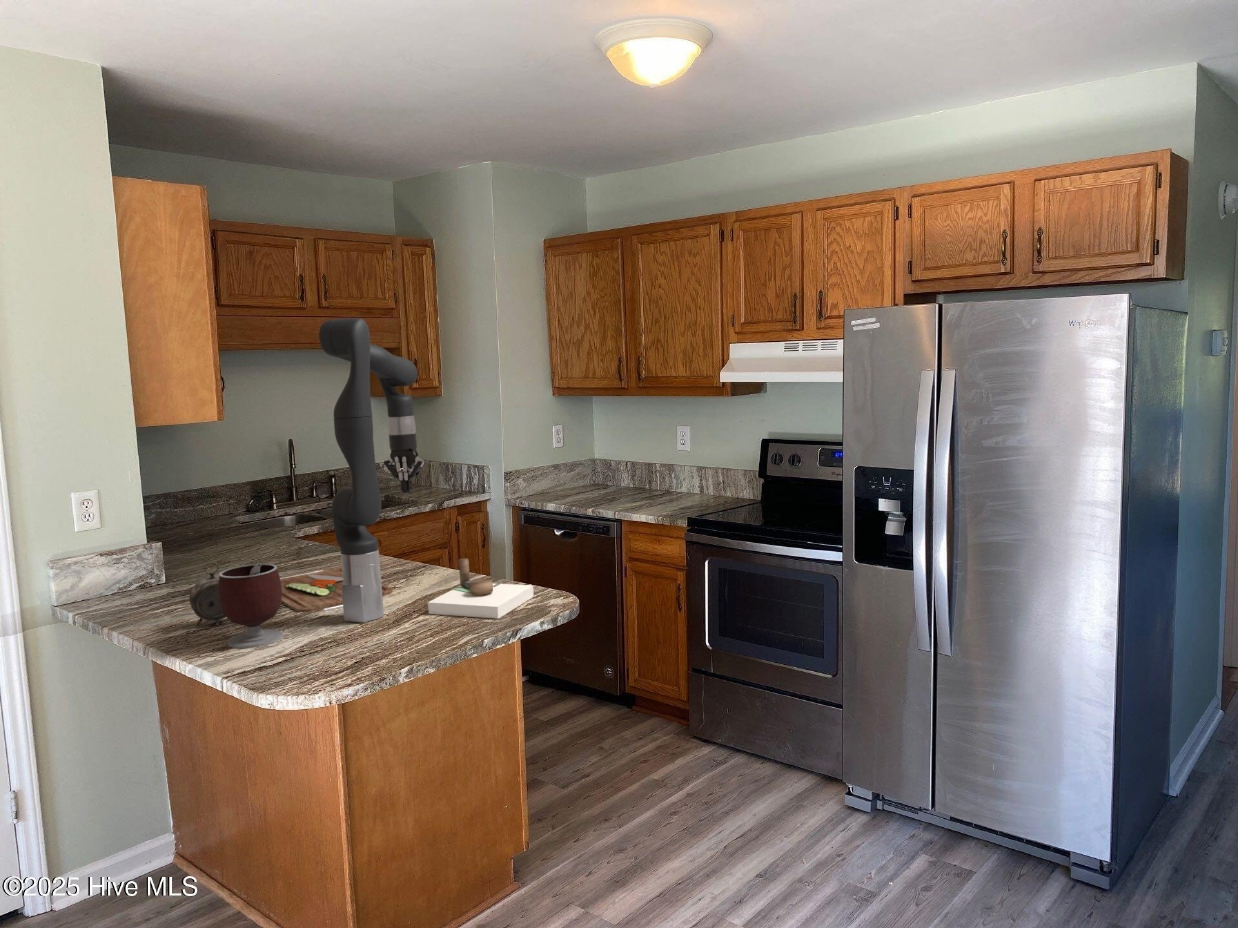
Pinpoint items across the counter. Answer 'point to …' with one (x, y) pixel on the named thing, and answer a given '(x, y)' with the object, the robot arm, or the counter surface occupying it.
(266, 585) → the mate gourd
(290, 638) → the counter surface
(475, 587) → the crank handle
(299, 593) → the chopping board
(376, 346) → the robot arm
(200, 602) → the alarm clock
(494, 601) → the white square slab
